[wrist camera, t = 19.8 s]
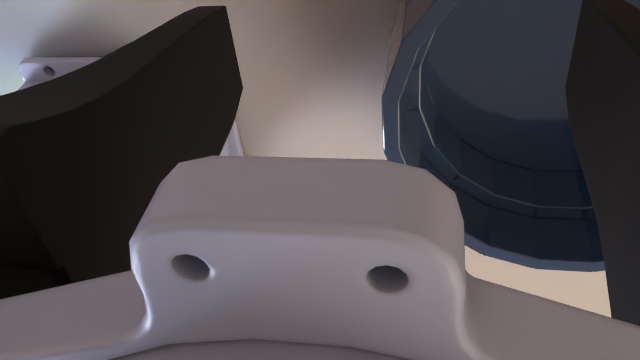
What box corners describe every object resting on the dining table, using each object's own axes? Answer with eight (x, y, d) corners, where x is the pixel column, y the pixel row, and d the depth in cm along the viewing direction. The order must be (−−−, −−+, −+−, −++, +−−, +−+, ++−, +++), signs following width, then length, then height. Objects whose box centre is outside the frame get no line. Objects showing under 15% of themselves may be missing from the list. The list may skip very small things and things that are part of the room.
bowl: (395, 181, 29) (387, 261, 25) (388, -136, 20) (374, -84, 16) (715, 191, 26) (758, 281, 23) (872, -166, 18) (985, -113, 14)
